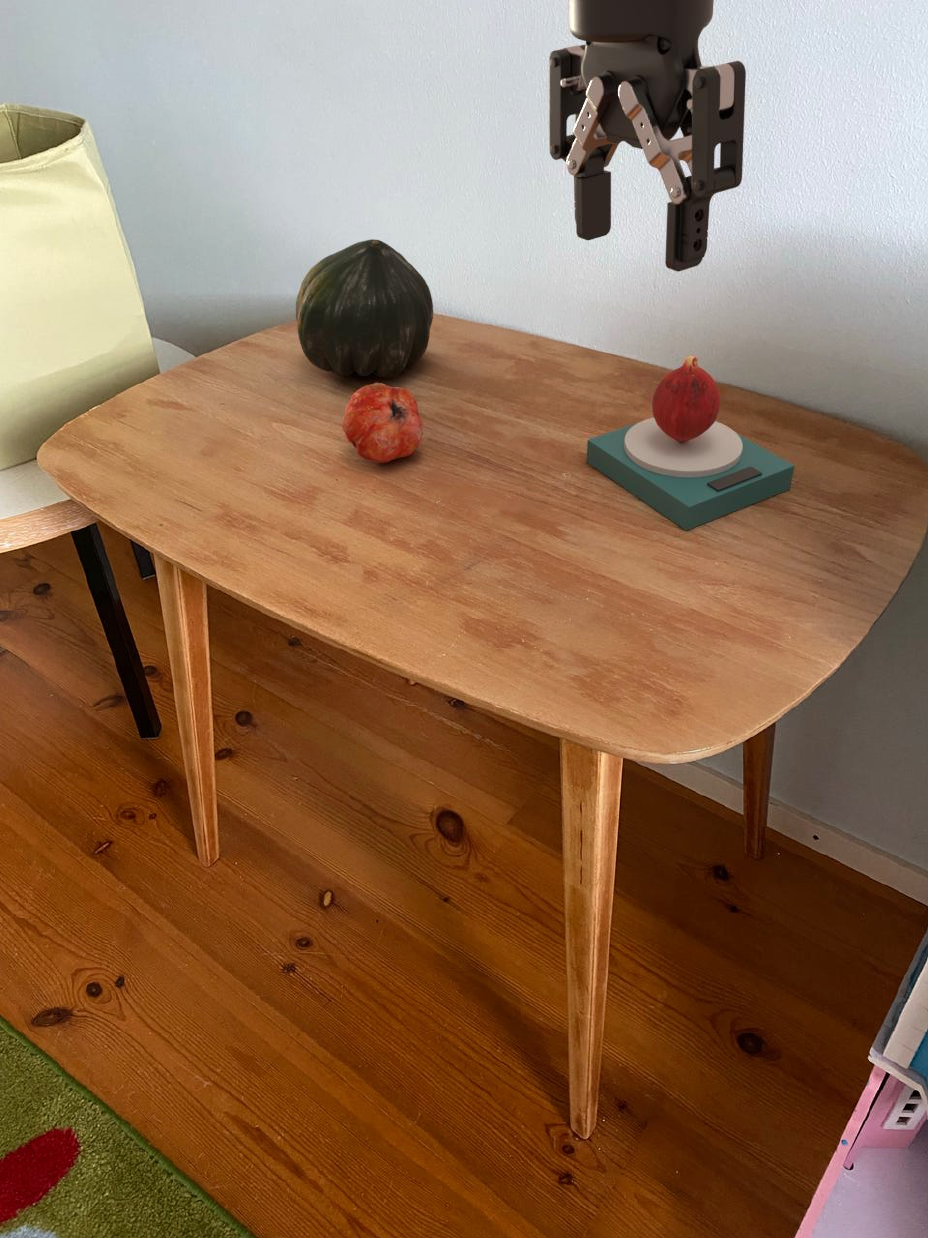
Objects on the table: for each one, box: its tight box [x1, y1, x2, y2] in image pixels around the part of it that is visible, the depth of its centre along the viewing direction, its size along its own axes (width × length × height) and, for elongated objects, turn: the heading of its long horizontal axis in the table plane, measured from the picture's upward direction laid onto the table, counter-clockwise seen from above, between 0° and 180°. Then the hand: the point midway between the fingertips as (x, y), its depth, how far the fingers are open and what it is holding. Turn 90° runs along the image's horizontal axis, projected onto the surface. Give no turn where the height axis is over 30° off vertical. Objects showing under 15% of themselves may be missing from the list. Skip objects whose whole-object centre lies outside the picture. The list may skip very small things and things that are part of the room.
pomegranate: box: [341, 382, 424, 464], centre depth 92 cm, size 7×7×10 cm
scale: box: [586, 416, 795, 531], centre depth 89 cm, size 14×12×3 cm
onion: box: [651, 354, 722, 443], centre depth 86 cm, size 6×6×8 cm
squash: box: [295, 238, 434, 379], centre depth 106 cm, size 14×15×15 cm
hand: (636, 251), depth 59 cm, fingers open, 8 cm apart
